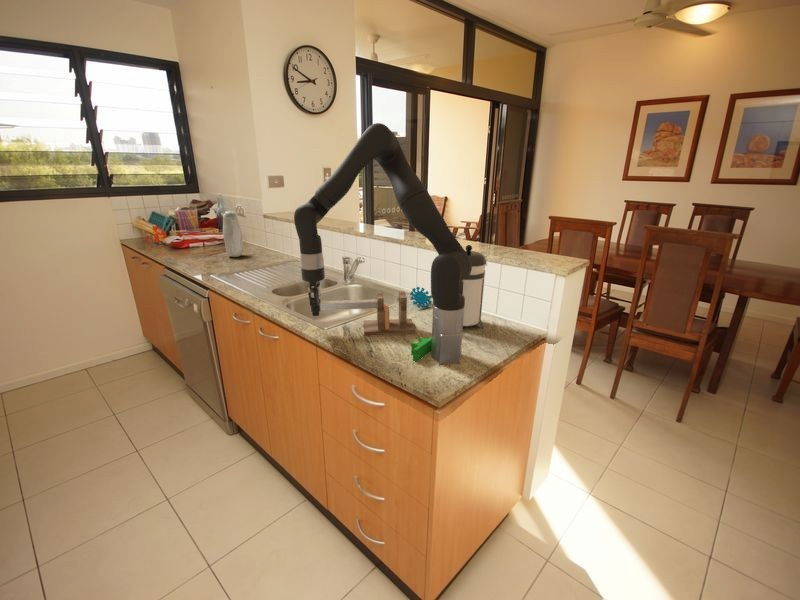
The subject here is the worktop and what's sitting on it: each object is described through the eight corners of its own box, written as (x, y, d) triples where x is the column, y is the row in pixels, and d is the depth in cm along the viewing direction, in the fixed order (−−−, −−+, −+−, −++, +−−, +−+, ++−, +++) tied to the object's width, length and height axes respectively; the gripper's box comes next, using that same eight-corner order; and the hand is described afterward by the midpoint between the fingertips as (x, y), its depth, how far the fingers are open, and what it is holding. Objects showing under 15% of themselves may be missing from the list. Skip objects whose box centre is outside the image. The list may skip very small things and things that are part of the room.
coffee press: (450, 313, 150) (454, 238, 140) (489, 321, 143) (496, 243, 132) (431, 328, 136) (434, 247, 126) (472, 338, 129) (479, 253, 118)
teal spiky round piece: (414, 307, 151) (408, 286, 155) (408, 314, 155) (402, 292, 159) (437, 306, 156) (430, 285, 160) (430, 312, 161) (424, 292, 165)
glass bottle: (245, 257, 232) (239, 211, 223) (227, 259, 228) (220, 212, 218) (243, 254, 240) (236, 209, 231) (225, 255, 236) (218, 210, 226)
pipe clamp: (424, 346, 124) (425, 333, 122) (434, 349, 122) (435, 336, 120) (405, 359, 115) (406, 346, 114) (416, 363, 113) (416, 349, 112)
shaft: (377, 309, 131) (377, 301, 130) (311, 311, 128) (310, 303, 127) (377, 306, 134) (377, 297, 133) (312, 308, 131) (311, 299, 130)
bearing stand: (415, 333, 132) (416, 298, 127) (364, 336, 130) (363, 300, 125) (411, 322, 141) (411, 289, 137) (363, 324, 139) (362, 290, 135)
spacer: (389, 329, 132) (389, 310, 129) (384, 329, 132) (384, 311, 129) (387, 321, 138) (387, 303, 136) (383, 321, 138) (383, 303, 136)
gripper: (322, 271, 118) (326, 321, 124) (325, 260, 131) (328, 305, 137) (297, 271, 117) (302, 322, 123) (303, 260, 130) (307, 306, 136)
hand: (316, 313), depth 130 cm, fingers closed on shaft, 3 cm apart
